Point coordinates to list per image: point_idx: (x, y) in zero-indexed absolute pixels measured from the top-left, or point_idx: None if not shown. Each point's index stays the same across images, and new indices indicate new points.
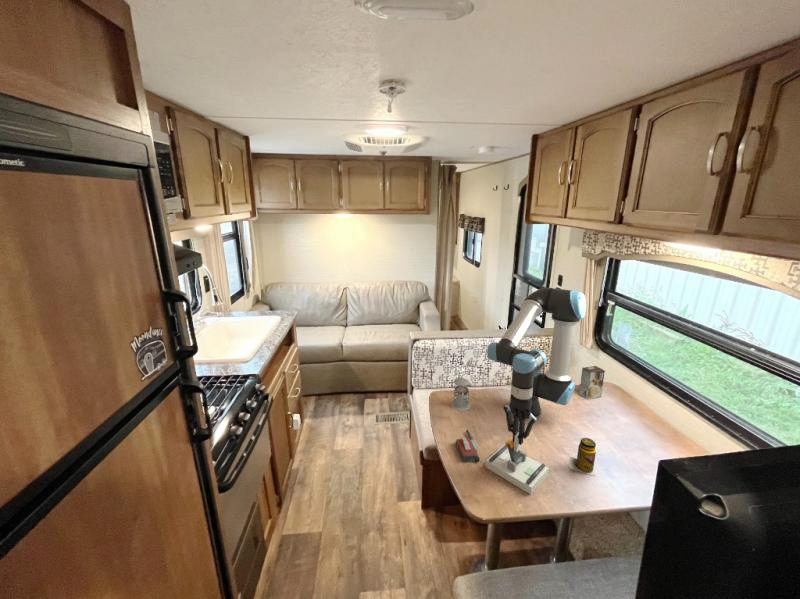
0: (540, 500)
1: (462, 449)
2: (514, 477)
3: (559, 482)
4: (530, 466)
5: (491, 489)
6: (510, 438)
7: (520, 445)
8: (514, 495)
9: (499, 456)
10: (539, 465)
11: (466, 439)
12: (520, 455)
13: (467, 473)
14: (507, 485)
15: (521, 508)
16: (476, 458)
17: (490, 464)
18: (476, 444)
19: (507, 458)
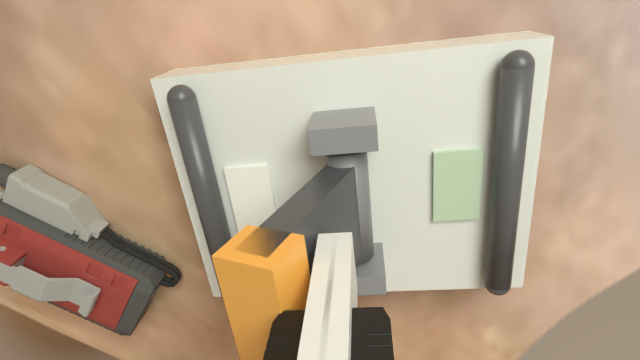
0: (562, 253)
1: (71, 308)
2: (407, 290)
3: (625, 37)
4: (431, 137)
5: None
6: (231, 297)
7: (351, 260)
8: (443, 310)
9: (231, 215)
10: (480, 73)
11: (3, 264)
12: (350, 178)
13: (213, 348)
14: None
15: (504, 343)
16: (160, 280)
17: None
18: (57, 205)
19: (275, 191)
